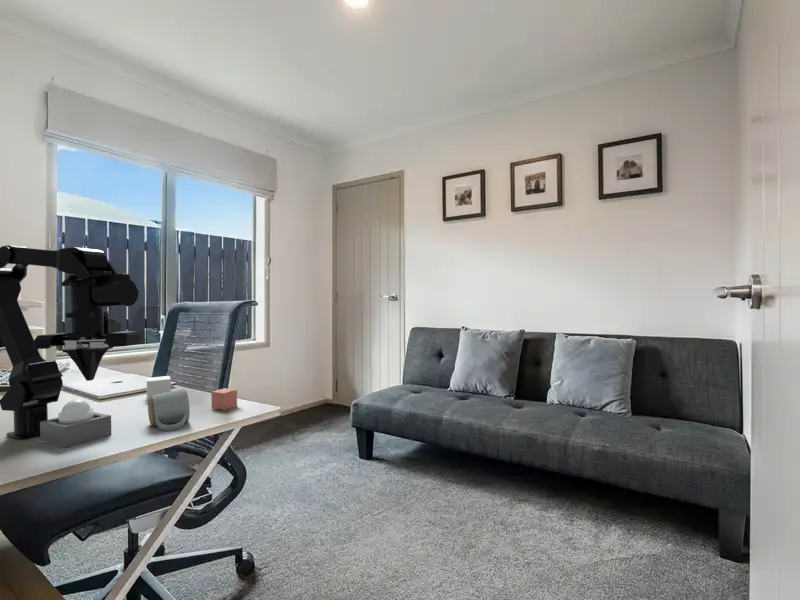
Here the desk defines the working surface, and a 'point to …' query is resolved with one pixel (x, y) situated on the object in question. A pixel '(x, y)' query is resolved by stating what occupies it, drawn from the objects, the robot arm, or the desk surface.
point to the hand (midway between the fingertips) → (90, 380)
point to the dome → (75, 412)
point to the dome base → (75, 430)
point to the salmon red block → (224, 398)
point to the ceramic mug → (169, 409)
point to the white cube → (158, 385)
